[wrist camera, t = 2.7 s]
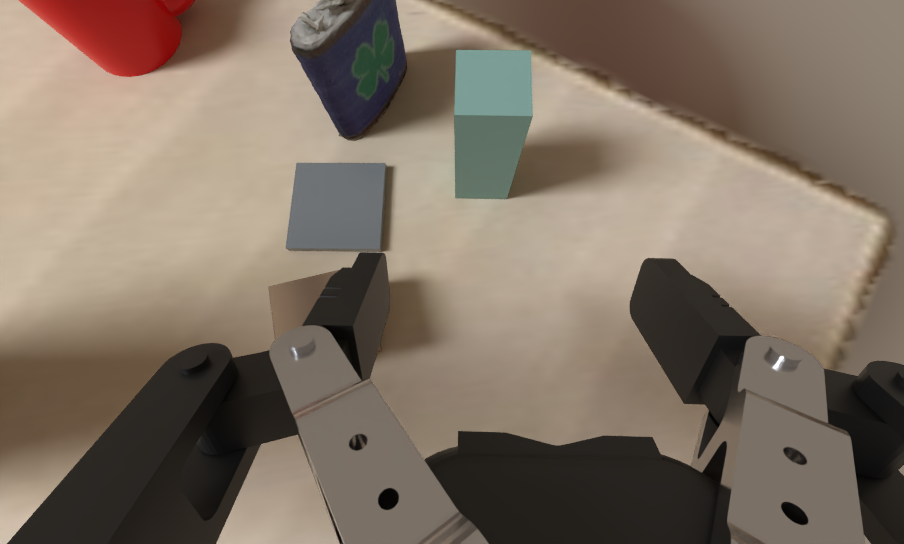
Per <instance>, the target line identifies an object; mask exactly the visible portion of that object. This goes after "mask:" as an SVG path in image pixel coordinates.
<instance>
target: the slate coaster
mask: <svg viewBox="0 0 904 544" xmlns="http://www.w3.org/2000/svg"><path fill="white" fill-rule="evenodd" d="M386 175H387V166H386V164H385V163H297V164H296V172H295V180H294V187H293V195H292V203H291V211H290V219H289V227H288V234H287V242H286V249H288V250H289V251H355V252H382V238H383V223H384V207H385V191H386Z"/></svg>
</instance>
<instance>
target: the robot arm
mask: <svg viewBox="0 0 904 544" xmlns="http://www.w3.org/2000/svg"><path fill="white" fill-rule="evenodd" d="M389 308H390V290H389V281H388V271H387V262H386V256H385V254H384V253H365V252H361V253H359V255H358V257H357V259H356V261H355V263H354V265H353V266H352V268H342V269H340V270H339V271H338V272H336V273H335V274H334V275H332V276H331V277H330V279H329V281H328V282H327V284H326V286H325V289H323V291H322V293H321V294H320V298H318V299H317V301H316V303H315V305H314V306H313V308H312V310H311V311H310V313H309V315H308V316H307V318H306V320H305V322H304V323H303V325H302V326H301V327H297V328H294V329H292V330H289V331H287V332H285V333H284V334H282V335H281V336H279V337H278V338H277V339H276V340H275V341H274V342H273V344H272V345H271V347H270V350H269V351H265V352H261V353H256V354H251V355H246V356H241V357H236V358H233V357H232V355H231V352H230V350H229V349H228V348H227V347H226V346H224V345H222V344H217V343H207V344H201V345H197V346H194V347H191V348H188V349H186V350H184V351H181V352H180V353H178V354H176V355H175V356H173V357H172V358H170V359H169V360H168V361H167V362H165V363H164V364H163V365H162V367H161V368H160V369H159V370H158V371H157V372H156V373H155V375H154V376H153V377H152V378H151V379H150V380H149V381H148V383H147V384H146V385H145V386H144V387H143V388H142V390H141V391H140V392H139V393H138V394H137V395H136V396H135V398H134V399H133V400H132V401H131V402H130V403H129V404H128V406H127V407H126V408H125V409H124V410H123V411H122V412H121V414H120V415H119V416H118V417H117V418H116V419H115V420H114V422H113V423H112V424H111V425H110V426H109V427H108V428H107V430H106V431H105V432H104V433H103V434H102V435H101V437H100V438H99V439H98V440H97V441H96V442H95V443H94V445H93V446H92V447H91V448H90V449H89V450H88V451H87V453H86V454H85V455H84V456H83V457H82V458H81V459H80V461H79V462H78V463H77V464H76V465H75V466H74V467H73V469H72V470H71V471H70V472H69V473H68V474H67V476H66V477H65V478H64V479H63V480H62V481H61V482H60V484H59V485H58V486H57V487H56V488H55V489H54V490H53V492H52V493H51V494H50V495H49V496H48V497H47V498H46V500H45V501H44V502H43V503H42V504H41V505H40V506H39V508H38V509H37V510H36V511H35V512H34V513H33V515H32V516H31V517H30V518H29V519H28V520H27V521H26V523H25V524H24V525H23V526H22V527H21V528H20V529H19V531H18V532H17V533H16V534H15V535H14V536H13V537H12V539H11V540H10V541H9V542H8V543H7V544H216V542H217V540H218V538H219V536H220V534H221V531H222V529H223V527H224V525H225V522H226V520H227V518H228V516H229V514H230V511H231V509H232V507H233V505H234V502H235V500H236V498H237V496H238V494H239V491H240V489H241V487H242V485H243V483H244V480H245V478H246V476H247V474H248V471H249V469H250V467H251V465H252V463H253V460H254V458H255V456H256V454H257V451H258V449H259V447H260V445H261V444H263V443H267V442H270V441H274V440H278V439H282V438H286V437H289V436H293V435H297V434H298V437H299V440H300V442H301V445H302V447H303V450H304V452H305V455H306V458H307V460H308V463H309V465H310V468H311V471H312V473H313V476H314V478H315V481H316V484H317V486H318V489H319V491H320V494H321V497H322V499H323V502H324V505H325V507H326V510H327V513H328V515H329V518H330V521H331V523H332V526H333V529H334V531H335V534H336V537H337V539H338V542H339V544H865V541H864V535H865V536H866V537H867V539H868V540H869V541H870V543H871V544H904V476H903V475H902V474H901V473H900V472H899V471H898V469H900V468H901V467H902V466H903V465H904V365H901V364H897V363H893V362H886V361H874V362H871V363H869V364H868V365H867V366H866V367H865V369H864V370H863V371H862V372H861V373H860V374H859V376H854V375H849V374H845V373H841V372H836V371H832V370H827V369H823V367H822V365H821V363H820V362H819V361H818V360H817V359H816V358H815V357H814V356H813V355H811V354H810V353H809V352H807V351H806V350H804V349H802V348H800V347H799V346H797V345H795V344H792V343H790V342H787V341H785V340H782V339H778V338H774V337H769V336H761V335H760V334H759V333H758V332H757V331H756V330H755V329H754V328H753V327H752V326H751V325H750V324H749V323H748V322H746V321H745V320H744V319H743V318H742V317H741V316H740V315H739V314H738V313H737V312H736V311H735V310H734V309H733V308H732V307H729V304H728V303H727V302H726V301H725V300H724V299H723V298H720V295H719V294H718V293H717V292H716V291H715V290H714V289H713V288H712V287H711V286H710V285H709V284H707V283H705V282H703V281H702V280H700V279H698V278H696V277H695V276H693V275H691V274H690V273H689V272H688V271H687V270H686V269H685V268H684V267H683V266H682V265H681V264H680V263H679V262H678V261H677V260H675V259H665V258H647V259H645V260H644V262H643V263H642V266H641V269H640V272H639V275H638V278H637V281H636V284H635V287H634V290H633V294H632V297H631V300H630V314H631V317H632V319H633V321H634V323H635V325H636V326H637V328H638V329H639V331H640V333H641V334H642V336H643V338H644V339H645V341H646V342H647V344H648V346H649V347H650V349H651V351H652V352H653V354H654V355H655V357H656V359H657V360H658V362H659V364H660V365H661V367H662V369H663V370H664V372H665V373H666V375H667V377H668V378H669V380H670V382H671V383H672V385H673V386H674V388H675V390H676V391H677V393H678V395H679V396H680V398H681V400H682V401H683V403H684V404H705V405H706V406H707V408H708V410H707V412H706V413H705V415H704V417H703V420H702V424H701V428H700V432H699V436H698V439H697V443H696V447H695V451H694V455H693V459H692V463H691V466H689V465H687V464H685V463H682V462H680V461H678V460H675V459H673V458H670V457H667V456H665V455H661V454H660V452H659V450H658V448H657V446H656V444H655V442H654V440H653V437H630V436H601V437H596V438H592V439H588V440H583V441H579V442H575V443H570V444H566V445H561V446H555V445H550V444H546V443H543V442H539V441H535V440H531V439H528V438H524V437H520V436H516V435H512V434H509V433H500V432H467V431H458V446H457V447H453V448H449V449H446V450H443V451H441V452H438V453H436V454H434V455H432V456H430V457H428V458H426V459H425V460H424V459H423V458H422V456H421V455H420V453H419V452H418V450H417V449H416V447H415V446H414V444H413V443H412V441H411V440H410V438H409V437H408V435H407V434H406V432H405V431H404V429H403V428H402V426H401V425H400V423H399V422H398V420H397V419H396V417H395V416H394V414H393V413H392V411H391V410H390V408H389V407H388V405H387V404H386V402H385V401H384V399H383V398H382V396H381V395H380V393H379V392H378V390H377V389H376V387H375V386H374V384H373V383H372V382H371V381H370V380H369V379H370V376H371V372H372V369H373V365H374V362H375V358H376V355H377V351H378V348H379V345H380V341H381V338H382V334H383V331H384V327H385V324H386V321H387V317H388V314H389Z"/></svg>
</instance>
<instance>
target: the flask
mask: <svg viewBox="0 0 904 544" xmlns="http://www.w3.org/2000/svg"><path fill="white" fill-rule="evenodd" d="M290 33H291V38H290V42H291V46H292V51H293V52H294V54H295V55H296V57H297V59H298V60H299V61H300V63H301V65H302V68H303V70H304V71H305V73H306V75H307V77H308V78H309V80H310V81H311V83H312V86H313V87H314V89H315V91H316V92H317V94H318V95H319V97H320V99H321V101H322V104H323V105H324V107H325V109H326V111H327V112H328V113H329V116H330V118H331V120H332V121H333V123H334V125H335V127H336V128H337V130H338V132H339V133H340V134H339V136H342V137H344V138H345V139H347V140H352V141H355V140H357V139H359V138H362V136H363V135H365V134H366V133H367V132H369V130H370V129H371V128H372V127H373V126H374V124H376V123H377V122H378V119H379V118H381V117H382V115H383V114H384V113H385V110H386V109H387V108H388V107H389V104H390V102H391V100H392V98H393V97H394V95H395V93H396V92H397V90H398V87H399V86H400V85H401V82H402V80H403V78H404V76H405V73H406V69H407V60H406V54H405V49H404V43H403V39H402V34H401V29H400V24H399V19H398V12H397V6H396V0H320V1H319V2H317V4H316V5H315V7H314V8H313V9H311V10H310V11H308V12H306V13H304V12H303V13H302V14H301V17H299V18H298V19H297V21H296V23H295V24H294V25H293V27H292V29H291V31H290Z"/></svg>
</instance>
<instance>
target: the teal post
mask: <svg viewBox="0 0 904 544" xmlns="http://www.w3.org/2000/svg"><path fill="white" fill-rule="evenodd" d="M532 117H533V110H532V74H531V51H524V50H456V71H455V107H454V132H455V198H476V199H507V197H508V194H509V191H510V187H511V184H512V181H513V178H514V174H515V171H516V168H517V165H518V162H519V158H520V155H521V152H522V149H523V146H524V142H525V139H526V136H527V133H528V129H529V126H530V123H531V120H532Z"/></svg>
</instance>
